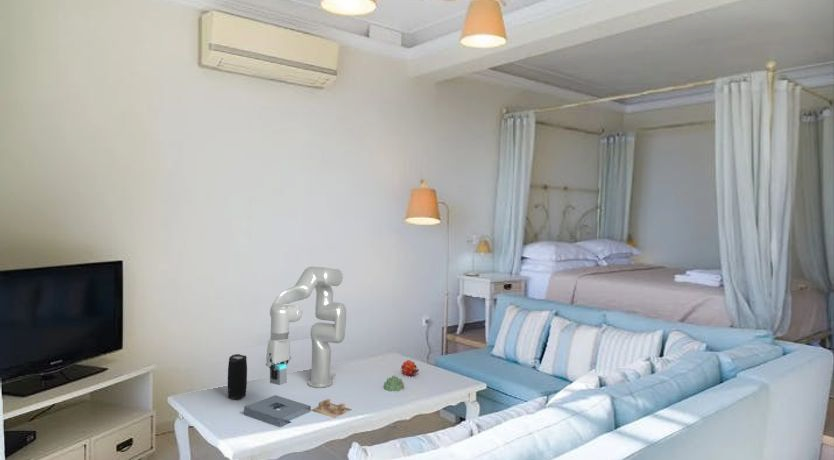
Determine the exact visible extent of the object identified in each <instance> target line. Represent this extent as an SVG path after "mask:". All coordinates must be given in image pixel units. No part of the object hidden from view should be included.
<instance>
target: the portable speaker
mask: <svg viewBox="0 0 834 460" xmlns="http://www.w3.org/2000/svg"><path fill="white" fill-rule="evenodd" d="M247 359H248V357H247V355H242V354H241V353H236V354H232V355H230V356H229V358H228V366H227V395H228V398H229V399H230V398H231V399H232V400H233V401H238V400H243V398H244V397H246V394H247V383H248V363H247V361H248V360H247Z"/></svg>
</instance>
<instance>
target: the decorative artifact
mask: <svg viewBox="0 0 834 460" xmlns="http://www.w3.org/2000/svg"><path fill="white" fill-rule="evenodd" d="M404 385H405V383H404V382H403V379H402V378H399V376H396V374H394V375H392V376H391V377H389V378H386V381H385V382H383V389H384V390H385V391H387V392H392V391H397V392H401V391H400V390H402V389H403V390H404V389H405V388H404ZM403 390H402V391H403Z"/></svg>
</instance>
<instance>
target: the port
mask: <svg viewBox="0 0 834 460" xmlns="http://www.w3.org/2000/svg"><path fill="white" fill-rule="evenodd" d="M311 407H312V406H311V405H310V404H309V405H308V404H305V403H303V402H299V401H295V400H292V399H289V398H286V397H283V396H280V395H276V394H274V395H272V396H269V397H266V398H263V399H261V400H259V401H258V400H257V401H256V402H253V403H249V404H248V405H245V406H244V407H243V415H244V416H247V417H250V418H253V419H256V420H258V421H262V422H265V423H267V424H270V425H273V426H276V427H278V428H281V427H284V426H286V425H288V424H290V423H292V421H293V420H295V419H297V418H299V417H302V416H304V415H307V414H308V413H311V412H312V411H311V410H312V409H311Z"/></svg>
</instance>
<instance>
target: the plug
mask: <svg viewBox="0 0 834 460" xmlns="http://www.w3.org/2000/svg"><path fill="white" fill-rule="evenodd" d="M274 365H275V364H274ZM274 365H273V366H274ZM287 367H288V365H287V366H286V364H281V363H278V364H277V370H278V371H277V379H276V380H275V379H272V378H271V369H270V368H269V383H270V384H274V385H277V386H282V385H284V384H287V382H288V381H287V380H288V378H287V374H288V373H287V371H288V369H287Z"/></svg>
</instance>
